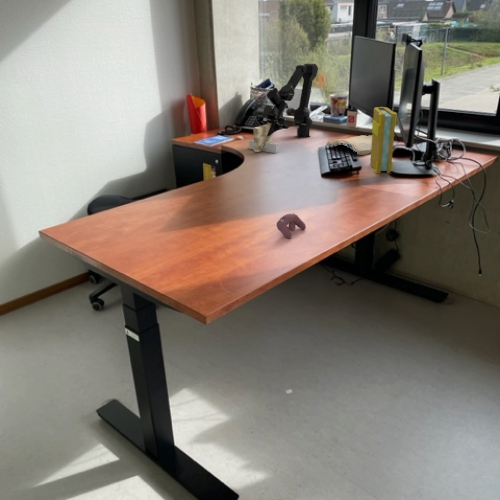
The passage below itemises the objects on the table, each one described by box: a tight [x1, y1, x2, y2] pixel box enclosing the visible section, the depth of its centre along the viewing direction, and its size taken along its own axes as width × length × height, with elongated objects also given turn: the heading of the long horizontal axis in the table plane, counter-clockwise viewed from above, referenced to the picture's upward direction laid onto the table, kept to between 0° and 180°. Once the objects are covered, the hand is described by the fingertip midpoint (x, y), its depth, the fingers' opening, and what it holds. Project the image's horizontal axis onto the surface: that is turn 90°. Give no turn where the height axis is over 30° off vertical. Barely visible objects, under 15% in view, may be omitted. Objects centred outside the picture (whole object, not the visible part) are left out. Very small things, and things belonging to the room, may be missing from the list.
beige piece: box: [325, 134, 372, 156], centre depth 244 cm, size 24×8×20 cm
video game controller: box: [276, 213, 307, 240], centre depth 153 cm, size 10×5×7 cm, turn 142°
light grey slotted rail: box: [248, 139, 279, 154], centre depth 249 cm, size 18×2×4 cm, turn 50°
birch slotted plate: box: [252, 124, 273, 153], centre depth 247 cm, size 12×2×12 cm, turn 140°
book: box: [369, 106, 398, 174], centre depth 208 cm, size 17×7×25 cm, turn 179°
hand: (265, 135), depth 248 cm, fingers closed on birch slotted plate, 2 cm apart
